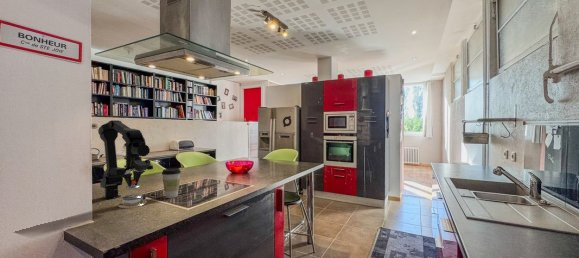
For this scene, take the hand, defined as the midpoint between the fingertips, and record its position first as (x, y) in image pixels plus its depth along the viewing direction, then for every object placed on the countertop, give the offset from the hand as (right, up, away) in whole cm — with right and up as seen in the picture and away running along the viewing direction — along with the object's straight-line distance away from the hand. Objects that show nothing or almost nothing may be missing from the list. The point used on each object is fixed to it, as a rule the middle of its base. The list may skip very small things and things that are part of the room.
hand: (132, 186), depth 124 cm
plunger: (0, -1, 0) cm, 1 cm away
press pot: (0, -9, 0) cm, 9 cm away
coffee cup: (+13, -9, +14) cm, 21 cm away
